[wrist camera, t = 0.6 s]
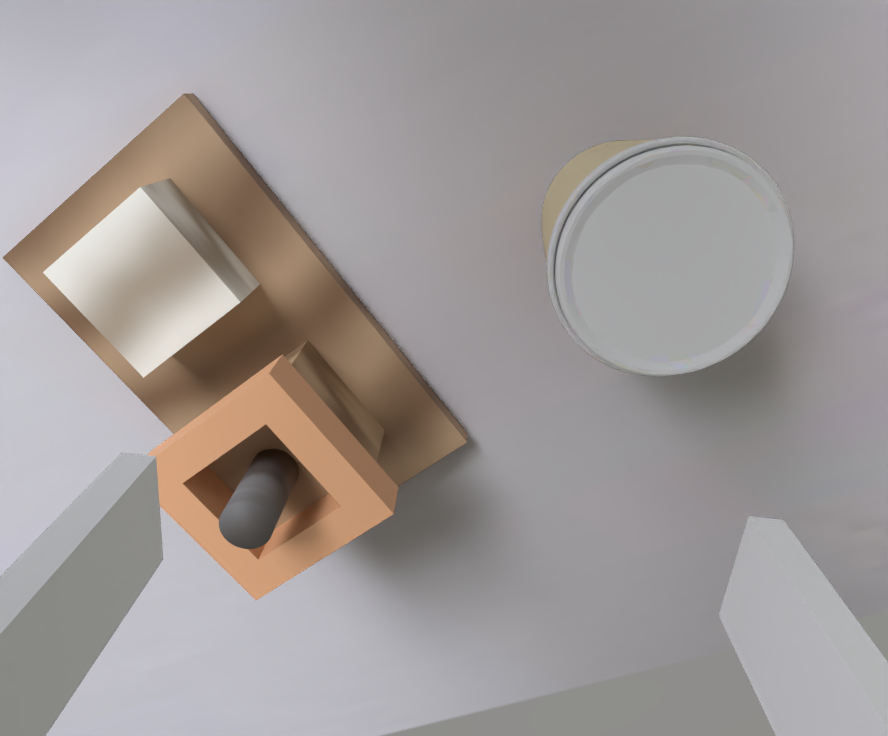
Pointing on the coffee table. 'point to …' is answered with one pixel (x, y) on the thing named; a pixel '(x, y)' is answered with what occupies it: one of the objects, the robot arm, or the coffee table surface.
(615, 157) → the coffee cup
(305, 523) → the square frame
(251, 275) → the stand
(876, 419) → the coffee table surface
